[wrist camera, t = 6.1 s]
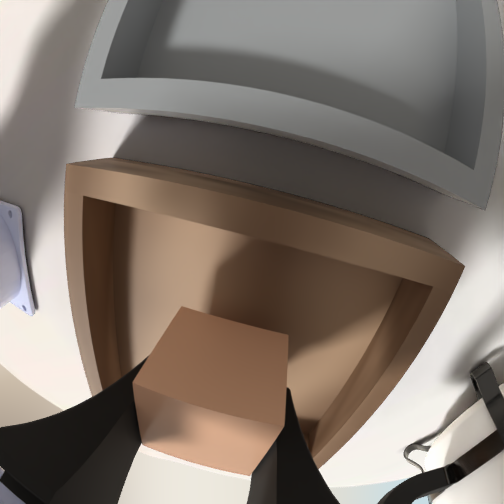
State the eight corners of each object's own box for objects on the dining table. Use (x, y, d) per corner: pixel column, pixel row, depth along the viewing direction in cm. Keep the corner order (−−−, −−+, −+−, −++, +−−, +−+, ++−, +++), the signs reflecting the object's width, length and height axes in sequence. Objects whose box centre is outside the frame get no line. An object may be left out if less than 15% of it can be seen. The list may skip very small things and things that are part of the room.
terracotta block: (175, 376, 11) (142, 445, 7) (181, 305, 10) (132, 382, 6) (261, 399, 11) (249, 475, 7) (288, 334, 10) (284, 426, 6)
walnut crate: (116, 377, 15) (96, 407, 13) (112, 157, 10) (66, 163, 8) (317, 433, 15) (317, 469, 12) (428, 238, 10) (465, 266, 7)
